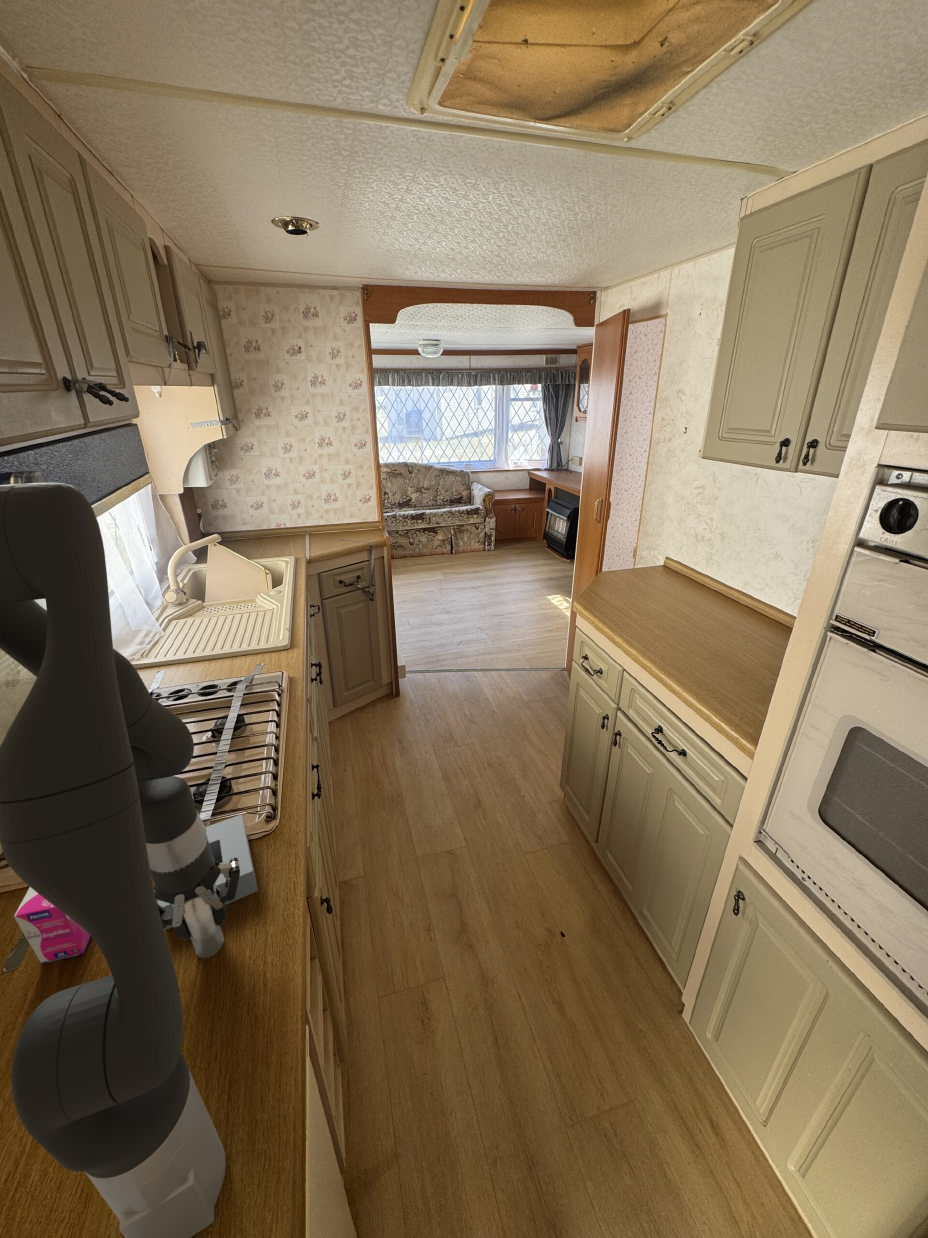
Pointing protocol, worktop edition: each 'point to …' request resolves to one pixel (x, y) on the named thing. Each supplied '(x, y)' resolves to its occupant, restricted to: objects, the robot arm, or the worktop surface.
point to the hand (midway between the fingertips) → (204, 927)
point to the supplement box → (50, 929)
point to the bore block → (230, 856)
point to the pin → (202, 927)
